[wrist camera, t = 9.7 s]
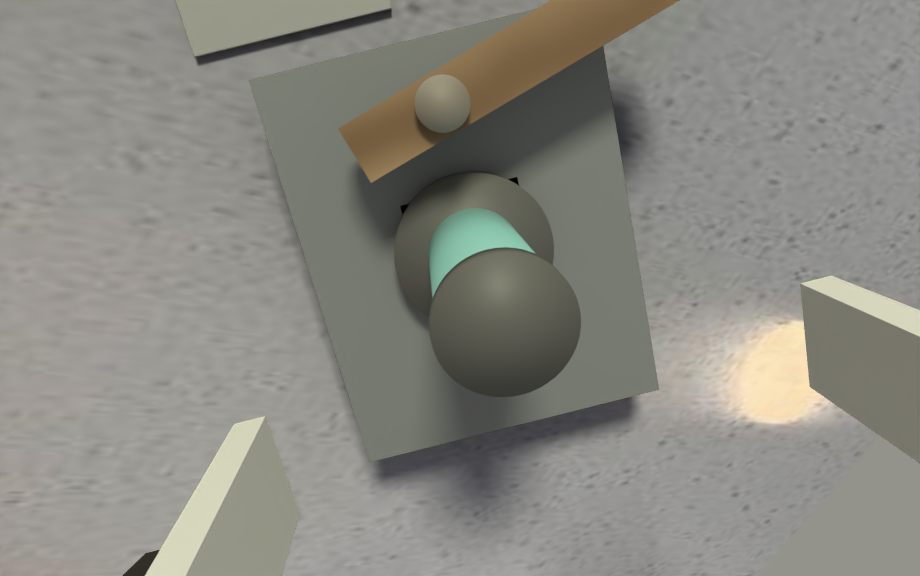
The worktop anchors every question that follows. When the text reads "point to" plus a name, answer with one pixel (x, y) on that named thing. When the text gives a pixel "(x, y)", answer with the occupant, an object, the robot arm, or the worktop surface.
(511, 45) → the brown wooden lever
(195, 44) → the mat
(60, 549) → the worktop surface
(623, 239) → the socket block
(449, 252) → the plug
